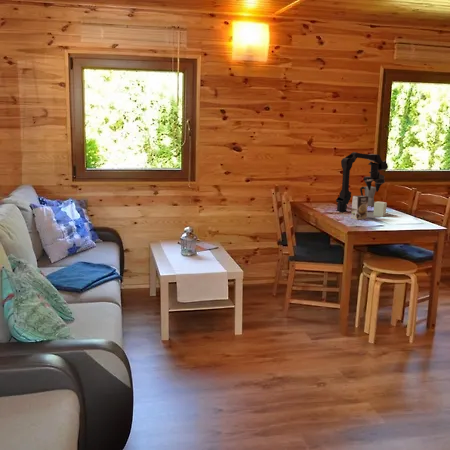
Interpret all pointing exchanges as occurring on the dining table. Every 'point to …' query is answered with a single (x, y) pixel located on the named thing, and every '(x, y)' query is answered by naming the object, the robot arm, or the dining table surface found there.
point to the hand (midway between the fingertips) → (373, 191)
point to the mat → (370, 214)
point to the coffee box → (359, 207)
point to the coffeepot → (369, 194)
